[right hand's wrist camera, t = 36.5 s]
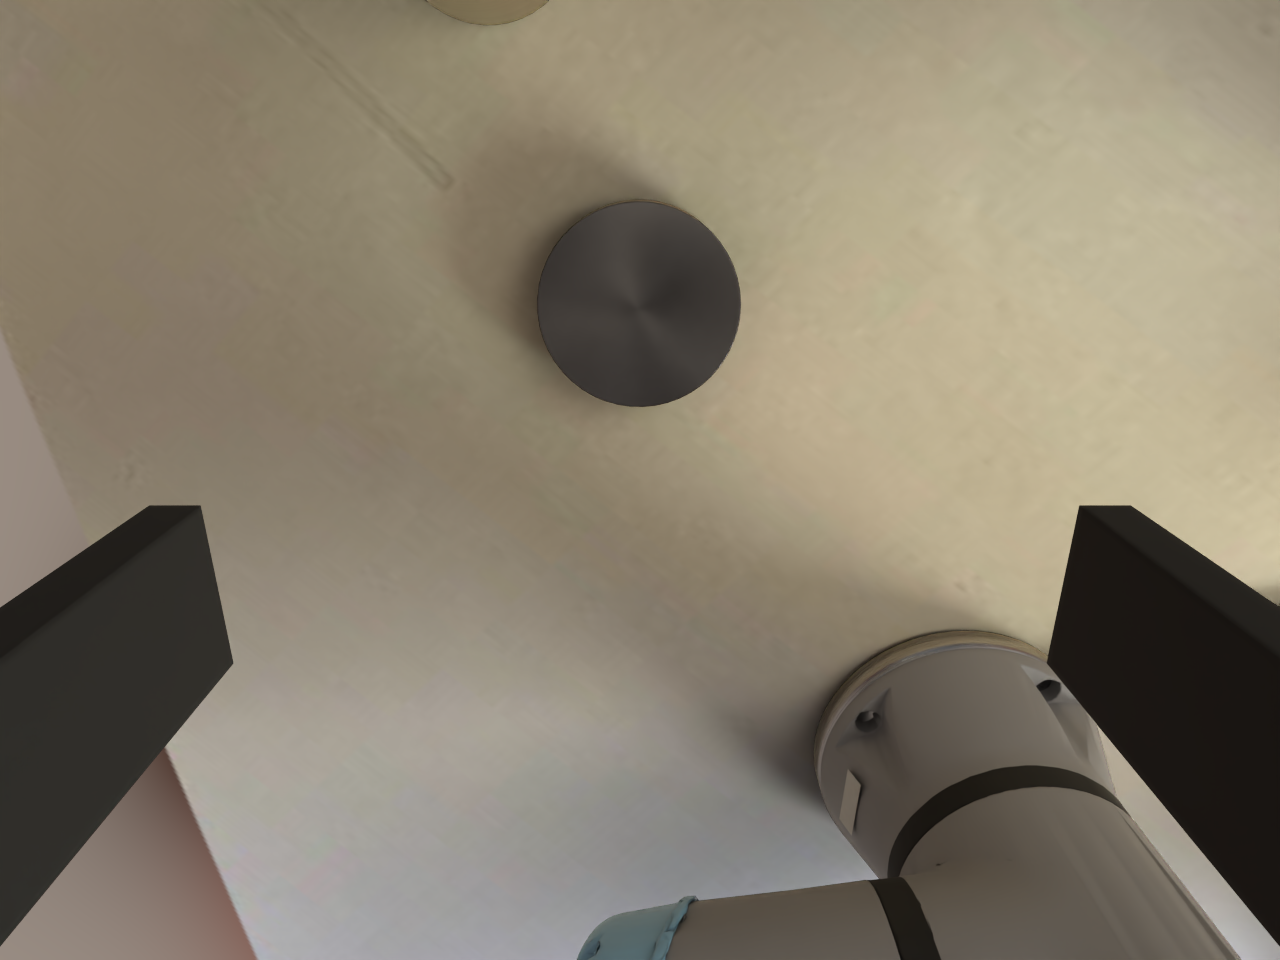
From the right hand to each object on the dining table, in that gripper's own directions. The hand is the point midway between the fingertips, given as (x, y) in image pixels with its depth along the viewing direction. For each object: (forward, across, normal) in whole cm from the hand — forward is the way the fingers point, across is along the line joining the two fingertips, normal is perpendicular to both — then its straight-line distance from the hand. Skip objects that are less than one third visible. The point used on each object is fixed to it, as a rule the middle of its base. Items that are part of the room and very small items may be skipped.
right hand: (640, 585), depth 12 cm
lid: (+25, 0, 0) cm, 25 cm away
